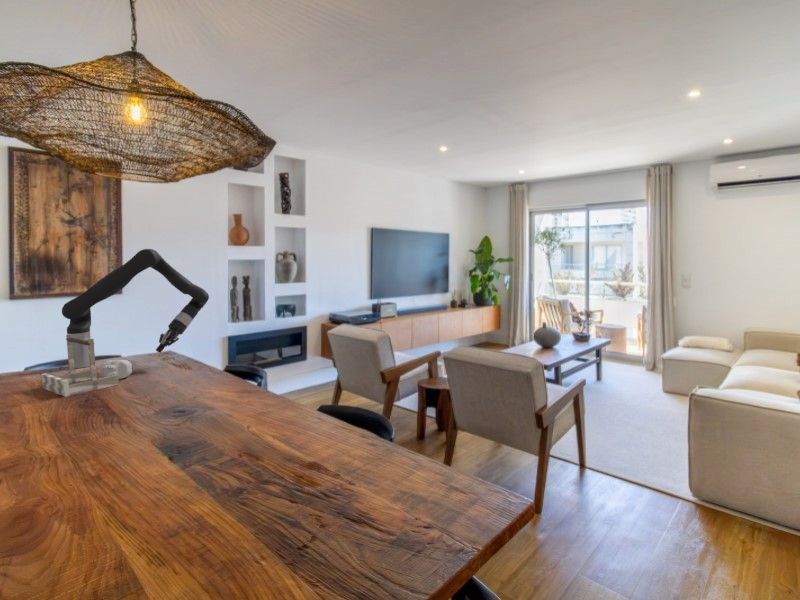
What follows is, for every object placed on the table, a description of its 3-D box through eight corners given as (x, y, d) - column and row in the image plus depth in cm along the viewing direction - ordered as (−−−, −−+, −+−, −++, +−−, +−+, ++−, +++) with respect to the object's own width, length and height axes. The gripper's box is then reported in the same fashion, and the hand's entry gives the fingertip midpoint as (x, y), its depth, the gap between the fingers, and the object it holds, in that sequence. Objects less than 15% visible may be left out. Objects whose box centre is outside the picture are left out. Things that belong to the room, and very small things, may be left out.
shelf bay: (42, 388, 182) (38, 338, 180) (95, 377, 198) (91, 331, 196) (65, 396, 170) (60, 343, 168) (118, 384, 186) (115, 335, 184)
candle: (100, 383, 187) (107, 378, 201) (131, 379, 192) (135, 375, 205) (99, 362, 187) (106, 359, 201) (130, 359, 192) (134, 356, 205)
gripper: (167, 317, 221) (144, 345, 212) (183, 319, 214) (159, 348, 205) (178, 326, 226) (156, 354, 217) (193, 328, 219) (171, 357, 210)
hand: (157, 351), depth 211 cm, fingers closed
